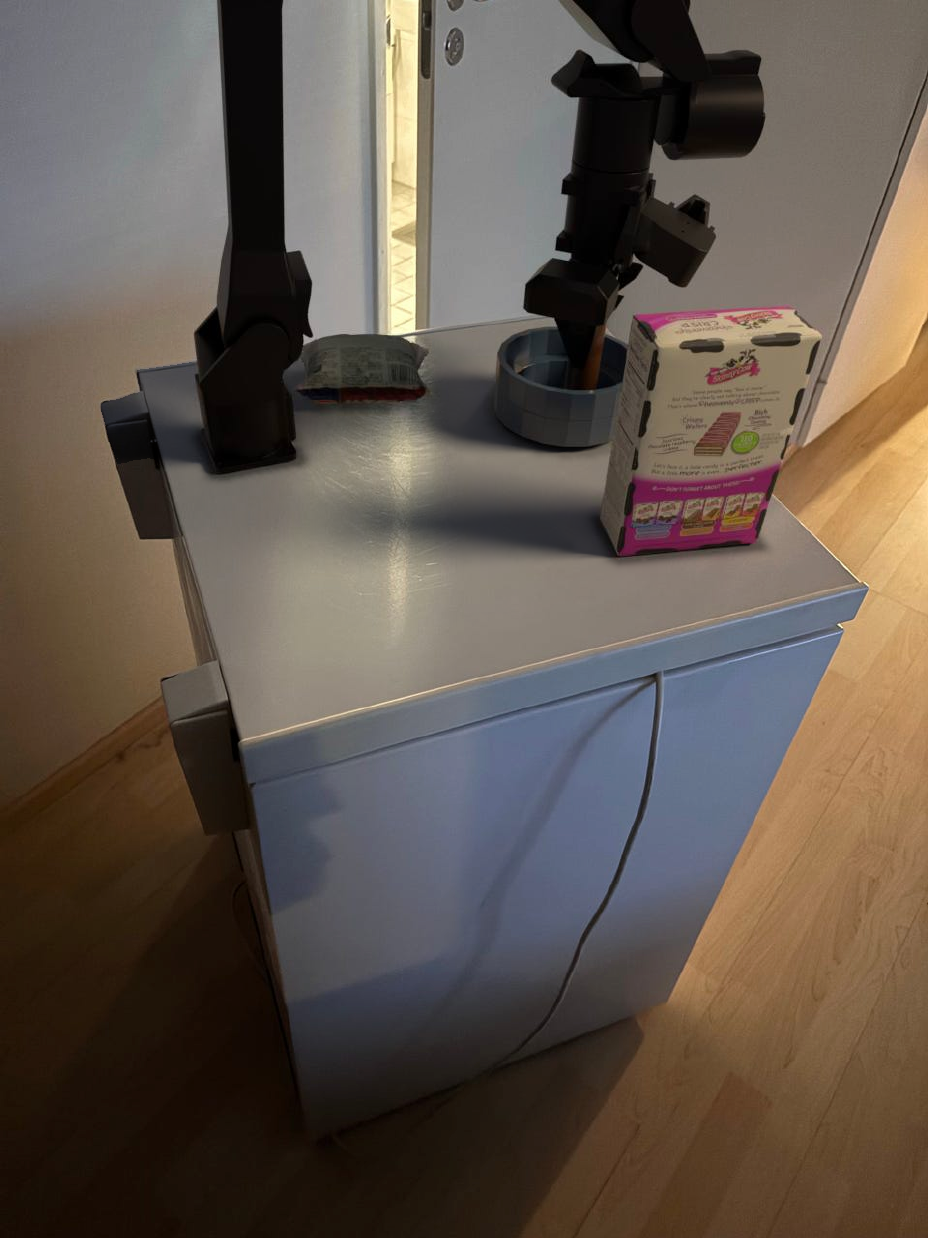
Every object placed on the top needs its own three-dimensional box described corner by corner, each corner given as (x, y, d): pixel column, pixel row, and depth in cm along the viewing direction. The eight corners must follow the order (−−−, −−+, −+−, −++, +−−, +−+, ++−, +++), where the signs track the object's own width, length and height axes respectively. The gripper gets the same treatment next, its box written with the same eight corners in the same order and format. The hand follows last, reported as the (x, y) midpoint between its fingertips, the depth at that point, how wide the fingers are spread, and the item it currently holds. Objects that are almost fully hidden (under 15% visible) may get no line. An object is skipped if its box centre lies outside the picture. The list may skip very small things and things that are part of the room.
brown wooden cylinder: (572, 407, 77) (586, 306, 71) (557, 392, 79) (569, 292, 73) (600, 402, 78) (617, 301, 72) (585, 387, 80) (599, 288, 73)
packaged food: (302, 367, 83) (297, 317, 80) (429, 368, 84) (430, 318, 81) (296, 416, 77) (291, 364, 74) (433, 417, 78) (434, 365, 75)
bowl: (531, 464, 73) (538, 404, 69) (471, 394, 81) (474, 337, 77) (657, 438, 77) (670, 379, 73) (588, 373, 85) (596, 318, 81)
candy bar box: (730, 506, 70) (792, 302, 59) (757, 545, 66) (829, 336, 55) (594, 517, 68) (631, 309, 57) (614, 558, 64) (658, 344, 53)
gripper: (696, 219, 57) (651, 433, 67) (740, 145, 70) (697, 334, 80) (530, 191, 60) (512, 401, 70) (602, 125, 72) (578, 311, 83)
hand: (582, 359), depth 76 cm, fingers closed on brown wooden cylinder, 3 cm apart
